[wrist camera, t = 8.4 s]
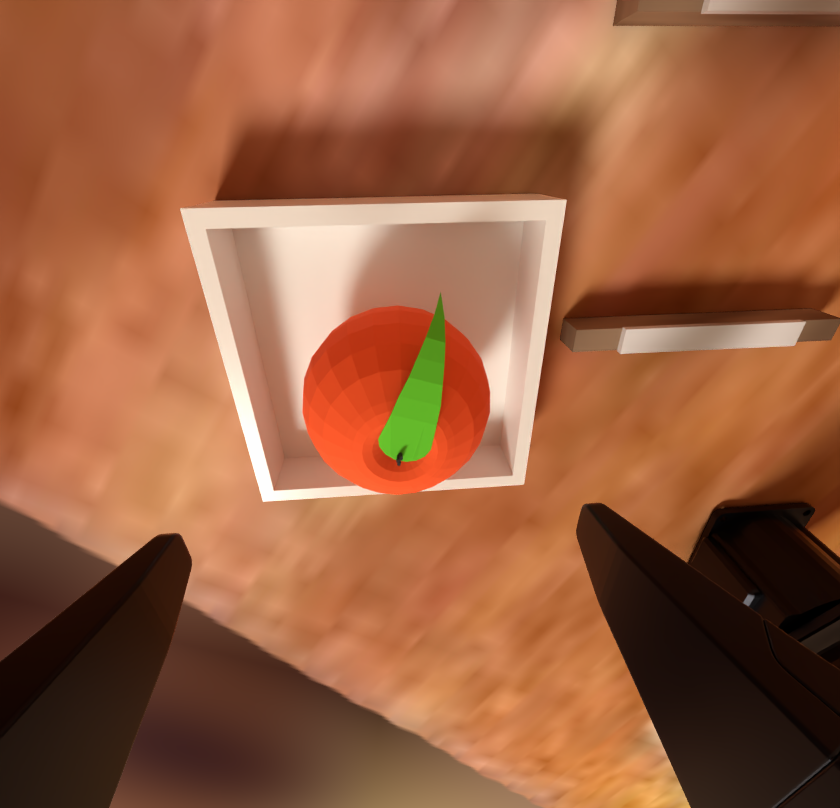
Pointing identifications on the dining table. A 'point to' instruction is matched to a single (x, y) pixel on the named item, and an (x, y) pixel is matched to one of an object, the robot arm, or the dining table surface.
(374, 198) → the bin
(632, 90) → the dining table surface
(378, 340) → the clementine
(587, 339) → the cradle
